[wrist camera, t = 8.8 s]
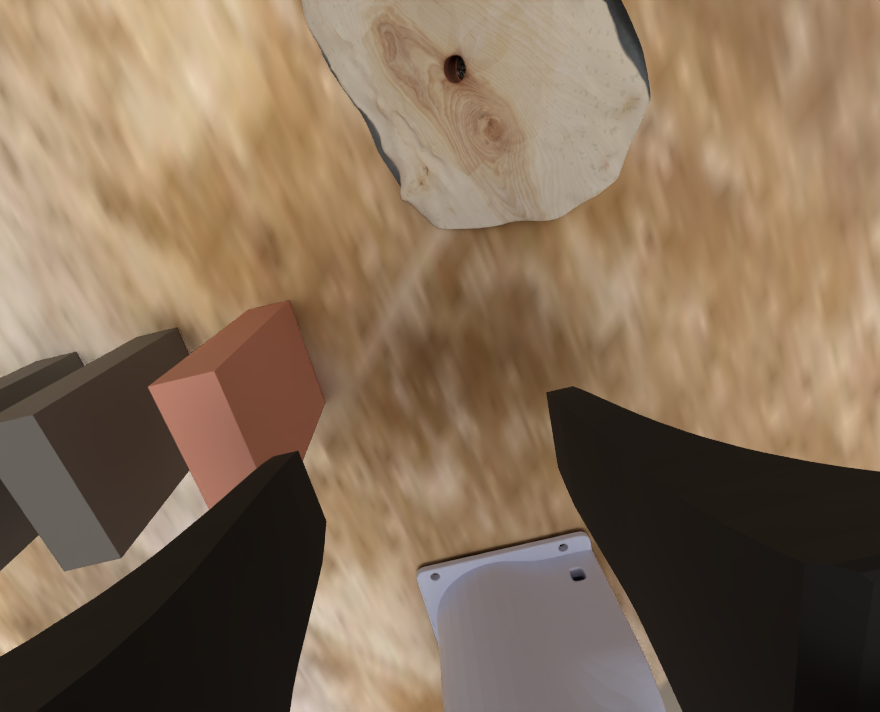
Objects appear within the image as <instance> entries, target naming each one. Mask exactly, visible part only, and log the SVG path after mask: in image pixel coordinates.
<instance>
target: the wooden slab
mask: <svg viewBox="0 0 880 712" xmlns="http://www.w3.org/2000/svg"><path fill="white" fill-rule="evenodd" d="M302 6H303V11H304V15H305V20H306V23H307V25H308V27H309V30H310V31H311V32H312V35H313V37H314V38H315V40H316V41H317V43H318V45H319V47H320V49H321V50H322V54H323V57H324V59H325V60H326V62H327V64H328V66H329V68H330V70H331V72H332V73H333V74H334V76H335V77H336V79H337V80H338V82H339V84H340V85H341V87H342V88H343V90H344V91H345V92H346V94H347V95H348V96H349V98H350V99H351V100H352V102H353V104H354V105H355V106H356V107H357V108H358V110H359V111H360V113H361V114H362V116H363V118H364V120H365V122H366V123H367V125H368V128H369V130H370V132H371V134H372V137H373V139H374V142H375V145H376V147H377V150H378V152H379V154H380V155H381V157H382V159H383V160H384V162H385V163H386V165H387V166H388V168H389V169H390V171H391V172H392V174H393V176H394V177H395V179H396V180H397V182H398V184H399V185H400V187H401V191H400V195H401V199H402V200H403V201H407V202H409V203H410V204H412V205H413V206H414V207H415V208H416V209H417V210H418V211H419V212H420V213H421V214H422V215H423V216H425V217H426V218H427V219H428V220H429V221H430V222H431V223H432V224H433V225H435V226H436V227H438V228H440V229H467V228H484V227H491V226H497V225H502V224H506V223H510V222H515V221H523V220H529V221H548V220H554V219H557V218H560V217H562V216H564V215H565V214H567V213H568V212H569V211H571V210H572V209H574V208H575V207H576V206H578V205H580V204H581V203H583V202H585V201H587V200H589V199H591V198H592V197H594V196H596V195H598V194H599V193H600V192H602V191H603V190H604V189H606V188H607V187H608V186H609V185H611V184H612V183H613V182H614V181H615V180H616V179H617V178H618V176H619V175H620V171H621V168H622V165H623V162H624V159H625V157H626V154H627V151H628V149H629V146H630V144H631V142H632V140H633V138H634V136H635V134H636V132H637V130H638V128H639V126H640V123H641V121H642V119H643V116H644V114H645V111H646V109H647V106H648V104H649V101H650V87H649V80H648V74H647V69H646V63H645V59H644V54H643V50H642V47H641V44H640V42H639V39H638V37H637V34H636V32H635V29H634V27H633V24H632V22H631V20H630V18H629V15H628V13H627V11H626V9H625V7H624V5H623V3H622V1H621V0H302Z"/></svg>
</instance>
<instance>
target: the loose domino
mask: <svg viewBox="0 0 880 712" xmlns="http://www.w3.org/2000/svg"><path fill="white" fill-rule="evenodd" d="M148 388H149V390H150V392H151V394H152V396H153V398H154V400H155V402H156V404H157V406H158V408H159V410H160V412H161V414H162V416H163V418H164V420H165V422H166V424H167V426H168V428H169V430H170V432H171V434H172V436H173V438H174V440H175V442H176V444H177V446H178V448H179V450H180V452H181V454H182V456H183V458H184V460H185V462H186V464H187V466H188V468H189V470H190V472H191V474H192V476H193V478H194V480H195V482H196V484H197V486H198V488H199V490H200V492H201V494H202V496H203V498H204V500H205V502H206V504H207V506H208V508H209V510H210V509H211V508H212V507H213V506H214V505H215V504H216V503H218V502H219V501H220V500H221V499H222V498H223V497H224V496H226V495H227V494H228V493H229V492H230V491H231V490H232V489H233V488H235V487H236V486H237V485H238V484H239V483H240V482H241V481H243V480H244V479H245V478H246V477H247V476H248V475H249V474H251V473H252V472H253V471H254V470H255V469H257V468H258V467H259V466H260V465H261V464H263V463H264V462H265V461H267V460H268V459H270V458H271V457H273V456H277V455H281V454H286V453H290V452H294V451H299V453H300V456H301V458H302V461H303V459H304V457H305V454H306V451H307V449H308V446H309V444H310V441H311V439H312V436H313V433H314V431H315V428H316V426H317V423H318V420H319V418H320V415H321V413H322V410H323V407H324V405H325V401H324V398H323V395H322V392H321V389H320V387H319V384H318V381H317V378H316V375H315V372H314V370H313V367H312V364H311V361H310V358H309V355H308V353H307V350H306V347H305V344H304V341H303V338H302V335H301V333H300V330H299V327H298V324H297V321H296V318H295V316H294V313H293V310H292V307H291V304H290V301H289V300H288V301H284V302H279V303H275V304H271V305H267V306H262V307H258V308H254V309H250V310H247V311H246V312H245V313H243V314H242V315H241V316H240V317H238V318H237V319H236V320H234V321H233V322H232V323H230V324H229V325H228V326H226V327H225V328H224V329H223V330H221V331H220V332H219V333H217V334H216V335H215V336H213V337H212V338H211V339H209V340H208V341H207V342H206V343H204V344H203V345H202V346H200V347H199V348H198V349H196V350H195V351H194V352H192V353H191V354H190V355H189V356H187V357H186V358H185V359H183V360H182V361H181V362H179V363H178V364H177V365H176V366H174V367H173V368H172V369H170V370H169V371H168V372H166V373H165V374H164V375H162V376H161V377H160V378H159V379H157V380H156V381H155V382H153V383H152V384H151V385H149V386H148Z"/></svg>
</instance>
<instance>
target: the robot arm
mask: <svg viewBox="0 0 880 712" xmlns="http://www.w3.org/2000/svg"><path fill="white" fill-rule="evenodd" d="M546 394H547V400H548V407H549V413H550V419H551V426H552V432H553V438H554V444H555V451H556V457H557V463H558V468H559V471H560V473H561V476H562V478H563V480H564V483H565V485H566V488H567V490H568V492H569V494H570V497H571V499H572V501H573V503H574V505H575V507H576V509H577V511H578V512H579V514H580V516H581V518H582V519H583V521H584V523H585V524H586V526H587V528H588V530H589V531H590V533H591V535H592V536H593V538H594V540H595V541H596V543H597V545H598V546H599V548H600V550H601V551H602V553H603V555H604V557H605V558H606V560H607V562H608V563H609V565H610V567H611V568H612V570H613V572H614V573H615V575H616V577H617V578H618V580H619V582H620V583H621V585H622V587H623V589H624V590H625V592H626V594H627V596H628V598H629V599H630V601H631V603H632V605H633V607H634V609H635V610H636V612H637V614H638V616H639V619H640V621H641V623H642V625H643V627H644V629H645V631H646V633H647V636H648V638H649V640H650V642H651V644H652V646H653V648H654V650H655V652H656V655H657V657H658V659H659V661H660V663H661V665H662V667H663V670H664V672H665V674H666V676H667V678H668V681H669V683H670V685H671V687H672V689H673V692H674V694H675V696H676V698H677V700H678V703H679V705H680V707H681V709H682V711H683V712H880V472H878V471H870V470H862V469H855V468H847V467H840V466H834V465H828V464H821V463H815V462H809V461H804V460H799V459H794V458H789V457H784V456H778V455H773V454H768V453H763V452H759V451H755V450H750V449H746V448H742V447H738V446H734V445H731V444H727V443H723V442H719V441H716V440H712V439H708V438H705V437H701V436H698V435H695V434H692V433H689V432H685V431H683V430H680V429H677V428H674V427H671V426H668V425H666V424H663V423H660V422H657V421H655V420H652V419H649V418H647V417H644V416H642V415H639V414H637V413H634V412H632V411H630V410H627V409H625V408H623V407H620V406H618V405H616V404H613V403H611V402H609V401H607V400H604V399H602V398H600V397H598V396H595V395H593V394H591V393H589V392H586V391H584V390H582V389H579V388H576V387H573V386H572V387H568V388H563V389H559V390H555V391H551V392H546ZM325 531H326V519H325V517H324V514H323V512H322V509H321V506H320V504H319V501H318V499H317V496H316V494H315V491H314V489H313V486H312V484H311V481H310V479H309V476H308V474H307V471H306V469H305V466H304V463H303V461H302V458H301V456H300V453H299V451H294V452H290V453H286V454H281V455H277V456H273V457H271V458H270V459H268V460H267V461H265V462H264V463H263V464H261V465H260V466H259V467H258V468H257V469H255V470H254V471H253V472H252V473H251V474H249V475H248V476H247V477H246V478H245V479H244V480H243V481H241V482H240V483H239V484H238V485H237V486H236V487H235V488H233V489H232V490H231V491H230V492H229V493H228V494H227V495H226V496H224V497H223V498H222V499H221V500H220V501H219V502H218V503H216V504H215V505H214V506H213V507H212V508H211V509H210V510H208V511H207V512H206V513H205V514H204V515H203V516H201V517H200V518H199V519H198V520H197V521H195V522H194V523H193V524H192V525H191V526H189V527H188V528H187V529H186V530H185V531H183V532H182V533H181V534H180V535H179V536H177V537H176V538H175V539H174V540H172V541H171V542H170V543H169V544H168V545H166V546H165V547H164V548H163V549H162V550H160V551H159V552H158V553H156V554H155V555H154V556H153V557H151V558H150V559H149V560H147V561H146V562H145V563H143V564H142V565H141V566H139V567H138V568H137V569H135V570H134V571H132V572H131V573H130V574H128V575H127V576H125V577H124V578H123V579H121V580H120V581H118V582H117V583H116V584H114V585H113V586H111V587H110V588H109V589H107V590H106V591H104V592H103V593H101V594H100V595H98V596H97V597H96V598H94V599H92V600H91V601H89V602H88V603H86V604H85V605H83V606H81V607H80V608H78V609H77V610H75V611H74V612H72V613H71V614H69V615H67V616H66V617H64V618H63V619H61V620H60V621H58V622H56V623H55V624H53V625H52V626H50V627H49V628H47V629H46V630H44V631H42V632H41V633H39V634H38V635H36V636H35V637H33V638H31V639H30V640H28V641H26V642H25V643H23V644H21V645H20V646H18V647H16V648H14V649H13V650H11V651H9V652H8V653H6V654H4V655H2V656H1V657H0V712H290V707H291V700H292V693H293V687H294V682H295V677H296V672H297V667H298V663H299V659H300V655H301V650H302V646H303V642H304V638H305V634H306V630H307V626H308V622H309V617H310V613H311V609H312V605H313V601H314V597H315V593H316V588H317V584H318V580H319V575H320V571H321V566H322V561H323V553H324V544H325ZM561 544H564V545H563V546H560V545H561ZM433 573H438V574H436V575H433ZM417 582H418V585H419V588H420V591H421V594H422V597H423V600H424V603H425V606H426V610H427V613H428V616H429V619H430V622H431V625H432V628H433V631H434V634H435V637H436V640H437V643H438V646H439V650H440V665H441V680H442V695H443V710H444V712H666V709H665V706H664V703H663V701H662V698H661V695H660V692H659V690H658V687H657V684H656V682H655V679H654V677H653V674H652V672H651V669H650V667H649V664H648V662H647V660H646V657H645V655H644V653H643V651H642V649H641V647H640V645H639V643H638V640H637V638H636V636H635V634H634V633H633V631H632V629H631V627H630V625H629V623H628V621H627V619H626V617H625V615H624V613H623V611H622V609H621V607H620V605H619V603H618V601H617V599H616V597H615V595H614V593H613V591H612V589H611V587H610V585H609V583H608V581H607V579H606V577H605V575H604V573H603V571H602V569H601V567H600V565H599V563H598V561H597V559H596V557H595V555H594V553H593V551H592V548H591V541H590V538H589V536H588V535H587V534H586V533H585V532H582V531H581V532H575V533H570V534H566V535H562V536H557V537H553V538H548V539H544V540H540V541H535V542H531V543H526V544H522V545H518V546H513V547H509V548H504V549H500V550H496V551H491V552H487V553H483V554H478V555H474V556H469V557H465V558H461V559H456V560H452V561H447V562H443V563H439V564H434V565H430V566H425V567H422V568H420V569H419V570H418V571H417Z"/></svg>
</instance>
